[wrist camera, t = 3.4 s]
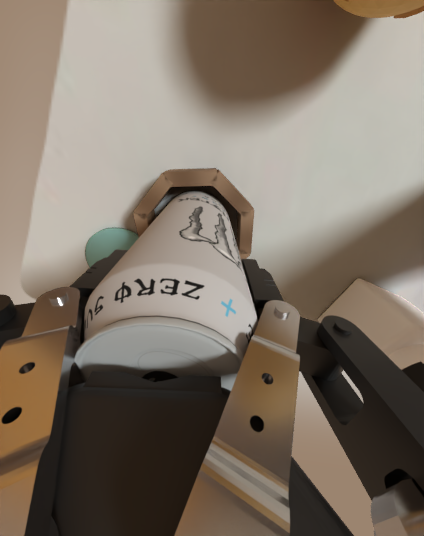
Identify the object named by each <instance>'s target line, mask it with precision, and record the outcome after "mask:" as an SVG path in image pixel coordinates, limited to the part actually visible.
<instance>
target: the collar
mask: <svg viewBox="0 0 424 536" xmlns="http://www.w3.org/2000/svg"><path fill="white" fill-rule="evenodd" d="M181 186H214V187H215V188H216V189H217V190H218V191H219V192H220V194H221V195H222V196H223V197H224V198H225V199H226V200H227V201H228V202H229V203H230V204H231V205H232V206H233V207H234V208H235V209H236V210H237V211H238V212H237V237H236V244H237V248H238V251H239V255H240V258H241V260H242V259H246V258H247V257H248V256H250V254H251V244H252V232H253V219H254V208H253V207H252V206H251V204H250V203H249V202H248V201H247V200H246V199H245V198H244V197H243V195H242V194H241V193H240V192H239V191H238V190H237V189H236V188H235V187H234V186H233V185H232V184H231V182H230V181H229V180H228V179H227V178H226V177H225V176H224V175H223V174H222V173H221V172H220V171H219V170H217V169H216V168H208V169H174V170H168V171H165V172H163V173H162V174H161V175H160V177H159V178H158V179H157V181H156V182H155V183H154V185H153V186H152V187H151V189H150V190H149V191H148V193H147V194H146V195H145V197H144V198H143V200H142V201H141V202H140V204H139V205H138V206H137V208H136V209H135V210H134V213H133V215H134V220H135V224H136V228H137V233H138V237H140V236H141V235H142V234H143V233H144V231H145V230H146V229H147V228H148V227H149V226H150V225H151V223H152V222H153V221H154V220H155V219H156V217H155V211H154V210H155V208H156V207H157V206H158V204H159V203H160V202H161V201H162V199H163V198H164V197H165V196H166V194H167V193H168V192H169V191H170V189H171V188H172V187H181Z"/></svg>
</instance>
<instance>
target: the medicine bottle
mask: <svg viewBox="0 0 424 536" xmlns="http://www.w3.org/2000/svg"><path fill="white" fill-rule="evenodd" d="M329 315H334V316H339V317H342V318H344V319H347V320H348V321H350V322H352V323H353V324H355V325H356V326H357V327H358V328H359V329H360V330H361V331H362V332H363V333H364V334H365V335H366V336H367V337H368V338H369V339H370V340H371V341H372V342H373V343H374V344H375V345H376V346H377V347H378V348H379V349H381V350H382V351H383V352H384V353H385V354H386V355H387V356H388V357H389V358H390V359H391V360H392V361H393V362H394V363H395V364H396V365H397V366H398V367H399V368H400V369H401V370H402V371H403V372H404V373H405V374H406V375H407V376H408V377H409V378H410V379H411V380H412V381H413V382H414V383H415V384H416V385H417V386H418V387H419V388H420V389H421V390H422V391H423V392H424V313H423V312H422V311H421V310H419V309H418V308H417V307H415V306H414V305H413V304H411V303H410V302H409V301H407V300H406V299H405V298H403V297H401V296H399V295H396V294H394V293H392V292H390V291H387V290H385V289H383V288H381V287H378V286H376V285H374V284H372V283H369V282H367V281H365V280H363V279H360V278H359V279H356V280H355V281H354V282H353V283H352V284H351V285H350V286H349V287H348V288H347V289H346V290H345V292H344V293H343V294H342V295H341V296H340V297H339V298H338V299H337V300H336V301H335V302H334V303H333V304H332V305H331V306H330V307H329V308H328V309H327V310H326V311H325V312H324V313H323V314H322V315H321V316H320V317H319V318H318V322H319V323H321V321H322V319H323V318H324V317H325V316H329Z"/></svg>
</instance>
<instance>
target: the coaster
mask: <svg viewBox="0 0 424 536" xmlns="http://www.w3.org/2000/svg"><path fill="white" fill-rule="evenodd" d="M138 238H139V237H138V234H136V233H134V232H132V231H129V230H126V229H123V228H107V229H103V230H101V231H99V232H97V233H96V234H94V235H93V236H92V237H91V238H90V239H89V241H88V243H87V246H86V251H85V252H86V260H87V263H88V265H89V267H91V266H92V265H93V264H94V263H96V262H97V261H99V260H101V259H103V258H105V257H106V258H107V257H108V256H109V255H110V254H111V253H112V252H113V251H114V250H116V249H119V250H129V249H130V248H131V246H132V245H133V244H134V243H135V242H136V241H137V240H138Z"/></svg>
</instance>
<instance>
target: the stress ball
mask: <svg viewBox="0 0 424 536" xmlns="http://www.w3.org/2000/svg"><path fill="white" fill-rule="evenodd" d="M333 1H334V2H335V3H336V4H337V5H338V6H340V7H341V8H342V9H344V10H345V11H347V12H350V13H352V14H354V15H357V16H362V17H368V18H382V17H390V16H394V18H406V17H409V16H412V15H415V14H418V13H420V12H422V11H424V0H333Z"/></svg>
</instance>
